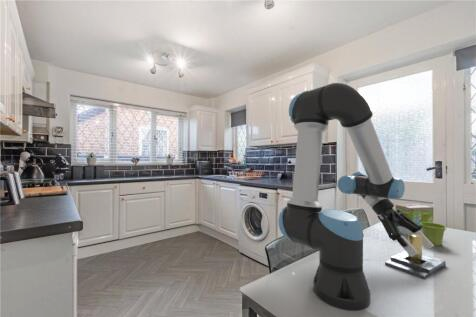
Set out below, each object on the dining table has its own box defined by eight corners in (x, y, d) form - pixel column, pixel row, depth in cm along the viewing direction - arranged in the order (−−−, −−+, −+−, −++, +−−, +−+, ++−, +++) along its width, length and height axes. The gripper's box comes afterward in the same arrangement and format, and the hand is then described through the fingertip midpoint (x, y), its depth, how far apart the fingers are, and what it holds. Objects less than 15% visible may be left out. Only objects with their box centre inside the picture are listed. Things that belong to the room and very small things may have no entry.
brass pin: (419, 268, 81) (418, 238, 81) (406, 264, 84) (406, 235, 84) (424, 266, 83) (423, 236, 83) (411, 262, 86) (411, 233, 86)
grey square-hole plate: (424, 279, 74) (424, 276, 74) (385, 264, 84) (385, 261, 84) (441, 268, 81) (441, 265, 81) (403, 256, 91) (403, 254, 91)
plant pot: (452, 247, 101) (452, 227, 101) (431, 247, 101) (431, 227, 101) (434, 239, 110) (434, 222, 110) (415, 239, 111) (415, 222, 111)
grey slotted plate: (429, 275, 76) (429, 270, 76) (390, 262, 86) (390, 256, 86) (445, 266, 83) (445, 260, 83) (408, 254, 93) (408, 249, 93)
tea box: (412, 236, 115) (412, 208, 115) (394, 230, 124) (394, 204, 125) (434, 234, 119) (434, 206, 119) (414, 228, 128) (414, 203, 129)
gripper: (387, 205, 103) (428, 249, 90) (355, 211, 91) (398, 263, 77) (400, 195, 98) (445, 240, 85) (369, 200, 86) (416, 253, 73)
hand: (423, 251), depth 81 cm, fingers open, 12 cm apart
